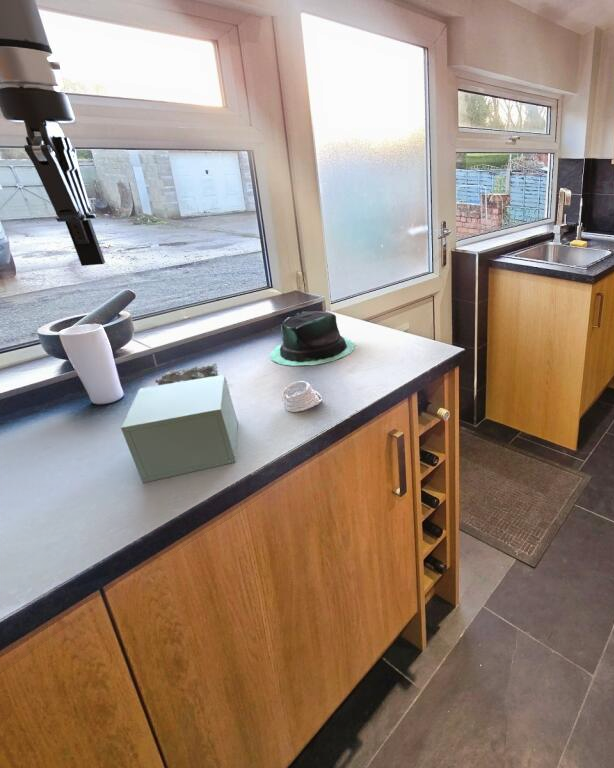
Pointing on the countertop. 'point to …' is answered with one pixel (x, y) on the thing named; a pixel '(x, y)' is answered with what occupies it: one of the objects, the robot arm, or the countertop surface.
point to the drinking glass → (93, 361)
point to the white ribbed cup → (300, 397)
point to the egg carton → (188, 374)
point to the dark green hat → (311, 340)
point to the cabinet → (181, 428)
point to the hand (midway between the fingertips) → (93, 263)
